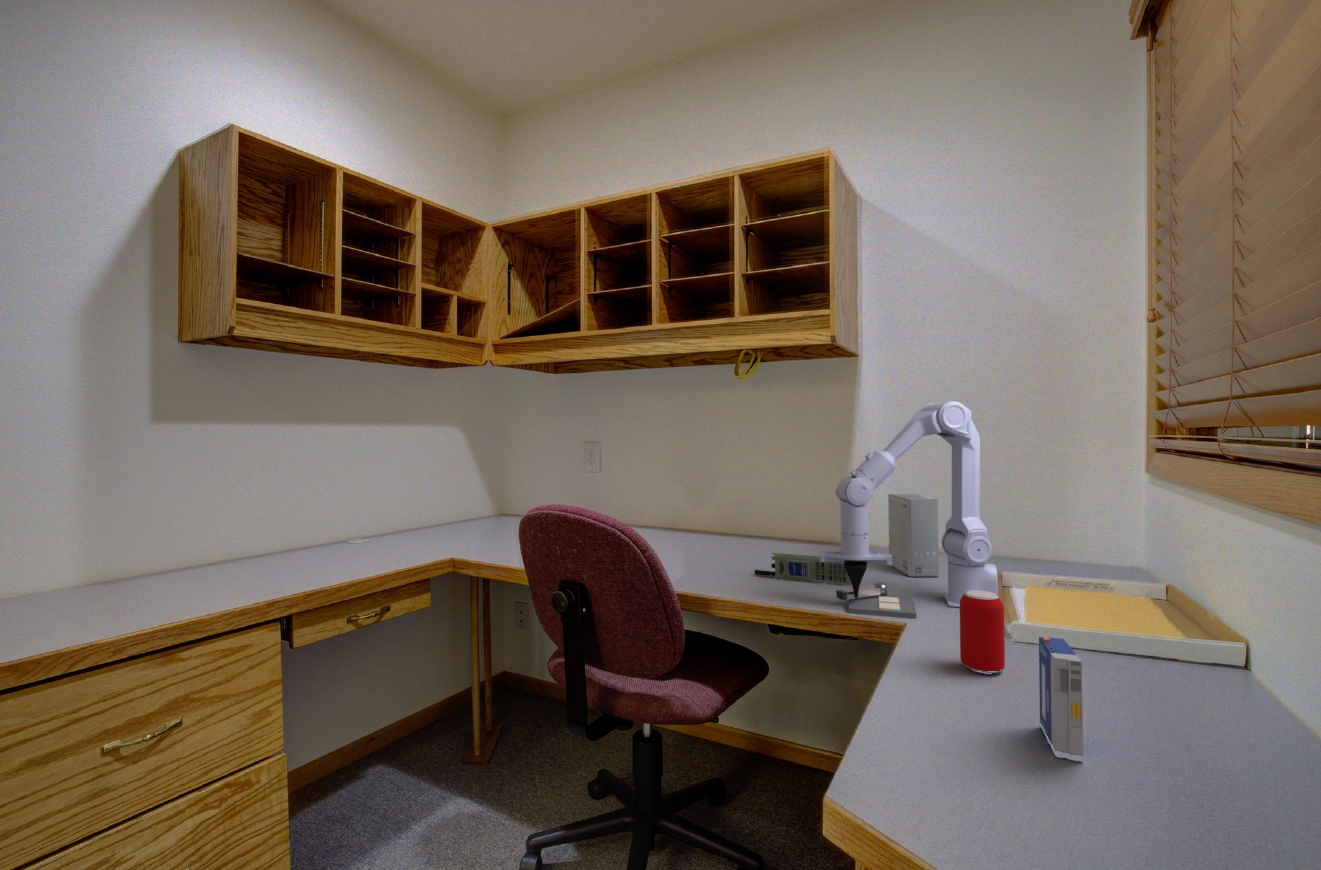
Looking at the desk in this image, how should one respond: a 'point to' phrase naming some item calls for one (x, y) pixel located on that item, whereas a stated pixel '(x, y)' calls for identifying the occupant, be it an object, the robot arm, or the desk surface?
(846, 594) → the bar
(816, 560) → the handheld radio
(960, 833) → the desk surface
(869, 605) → the label board
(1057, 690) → the walkman
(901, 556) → the hard drive box
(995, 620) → the beverage can
